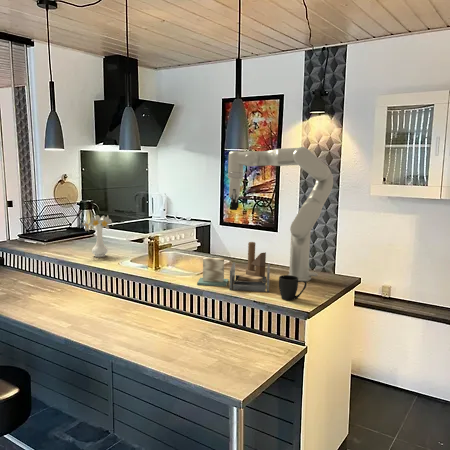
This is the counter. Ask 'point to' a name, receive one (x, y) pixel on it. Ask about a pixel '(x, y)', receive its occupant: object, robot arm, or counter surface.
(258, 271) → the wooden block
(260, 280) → the offcut stack
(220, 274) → the birch sheet
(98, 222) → the flower vase
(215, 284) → the mat
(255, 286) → the rack
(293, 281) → the mug
